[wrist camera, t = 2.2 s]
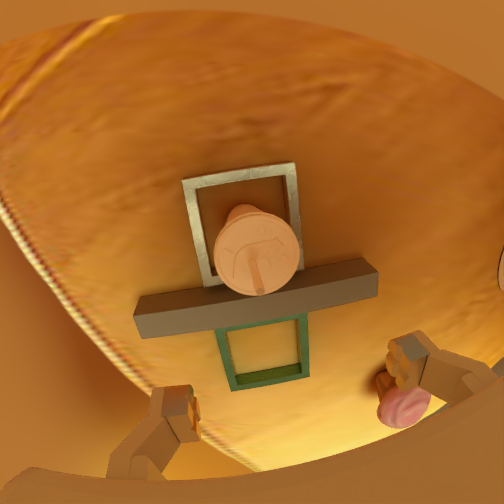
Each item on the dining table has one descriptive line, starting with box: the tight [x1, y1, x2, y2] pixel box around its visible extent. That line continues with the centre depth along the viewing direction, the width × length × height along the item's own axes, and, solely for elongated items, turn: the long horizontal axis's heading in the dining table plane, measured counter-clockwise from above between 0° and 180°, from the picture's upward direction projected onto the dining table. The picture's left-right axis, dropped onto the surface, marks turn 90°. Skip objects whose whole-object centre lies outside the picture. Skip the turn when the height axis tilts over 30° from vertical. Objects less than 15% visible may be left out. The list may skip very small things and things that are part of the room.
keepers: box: [182, 161, 310, 392], centre depth 33 cm, size 10×27×2 cm, turn 8°
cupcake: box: [375, 370, 431, 429], centre depth 39 cm, size 9×9×10 cm
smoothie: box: [213, 204, 300, 296], centre depth 25 cm, size 6×6×14 cm
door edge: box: [133, 258, 379, 339], centre depth 32 cm, size 26×3×4 cm, turn 98°
